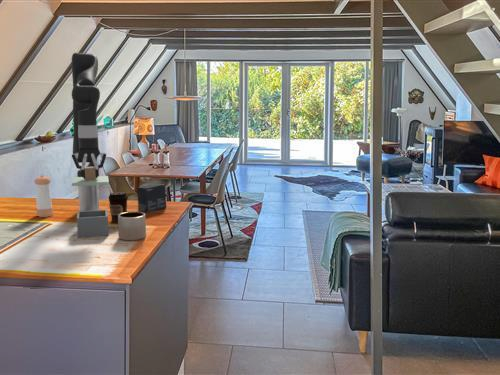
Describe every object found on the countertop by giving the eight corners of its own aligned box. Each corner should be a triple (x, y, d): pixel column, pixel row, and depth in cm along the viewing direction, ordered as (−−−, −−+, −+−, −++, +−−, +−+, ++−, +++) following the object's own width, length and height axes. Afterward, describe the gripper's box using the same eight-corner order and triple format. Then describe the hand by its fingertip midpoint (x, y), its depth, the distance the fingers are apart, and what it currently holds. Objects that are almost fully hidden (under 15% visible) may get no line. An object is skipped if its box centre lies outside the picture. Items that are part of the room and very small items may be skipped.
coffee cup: (123, 224, 225) (122, 195, 222) (105, 223, 226) (104, 194, 224) (131, 219, 233) (130, 191, 231) (114, 218, 235) (113, 190, 232)
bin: (78, 229, 215) (77, 211, 214) (108, 227, 219) (107, 209, 217) (77, 237, 204) (76, 218, 203) (108, 235, 208) (107, 216, 206)
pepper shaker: (33, 216, 237) (29, 175, 234) (44, 212, 244) (41, 173, 240) (45, 217, 235) (42, 176, 231) (56, 214, 241) (53, 174, 237)
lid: (73, 181, 212) (72, 165, 211) (108, 179, 216) (107, 164, 215) (71, 187, 199) (70, 170, 198) (109, 185, 203) (108, 169, 202)
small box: (157, 205, 260) (156, 182, 258) (166, 207, 257) (166, 184, 254) (137, 210, 250) (136, 186, 248) (147, 212, 246) (146, 188, 244)
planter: (121, 233, 210) (120, 211, 208) (147, 233, 211) (147, 211, 209) (116, 241, 199) (115, 218, 198) (144, 241, 200) (143, 217, 198)
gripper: (106, 135, 209) (108, 176, 213) (69, 135, 205) (72, 177, 209) (106, 136, 202) (108, 179, 206) (69, 137, 198) (71, 180, 202)
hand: (90, 178), depth 207 cm, fingers closed on lid, 4 cm apart
